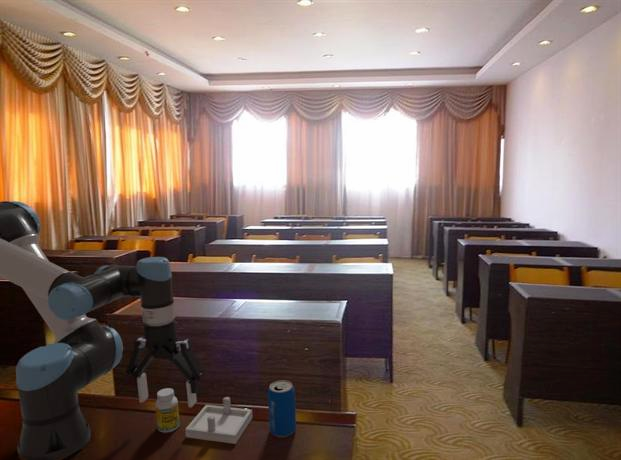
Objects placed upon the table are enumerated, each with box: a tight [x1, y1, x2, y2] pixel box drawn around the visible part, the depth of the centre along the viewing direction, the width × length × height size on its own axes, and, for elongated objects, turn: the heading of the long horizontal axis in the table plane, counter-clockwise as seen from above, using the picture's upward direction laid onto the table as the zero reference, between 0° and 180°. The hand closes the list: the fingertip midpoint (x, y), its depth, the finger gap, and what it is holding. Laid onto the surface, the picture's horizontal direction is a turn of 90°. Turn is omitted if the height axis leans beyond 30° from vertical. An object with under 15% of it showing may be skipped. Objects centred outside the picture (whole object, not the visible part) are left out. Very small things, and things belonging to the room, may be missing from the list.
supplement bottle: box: [154, 387, 181, 434], centre depth 114 cm, size 5×5×10 cm
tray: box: [185, 396, 253, 445], centre depth 113 cm, size 13×11×5 cm
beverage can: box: [267, 379, 297, 438], centre depth 110 cm, size 6×6×12 cm
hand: (168, 402), depth 113 cm, fingers open, 13 cm apart
